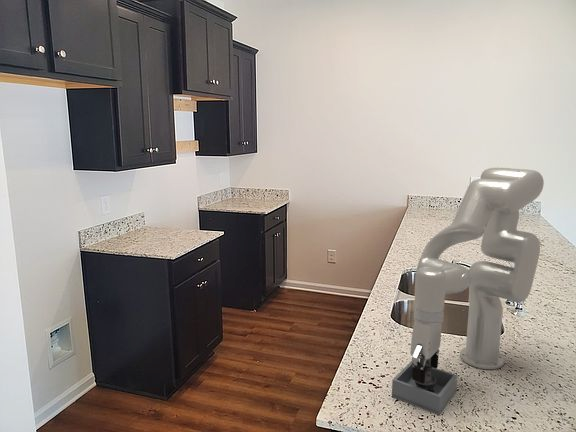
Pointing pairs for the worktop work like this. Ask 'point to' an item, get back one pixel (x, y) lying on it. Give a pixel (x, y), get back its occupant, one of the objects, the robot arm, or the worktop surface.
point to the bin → (422, 398)
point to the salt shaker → (427, 377)
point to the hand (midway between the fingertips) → (425, 373)
